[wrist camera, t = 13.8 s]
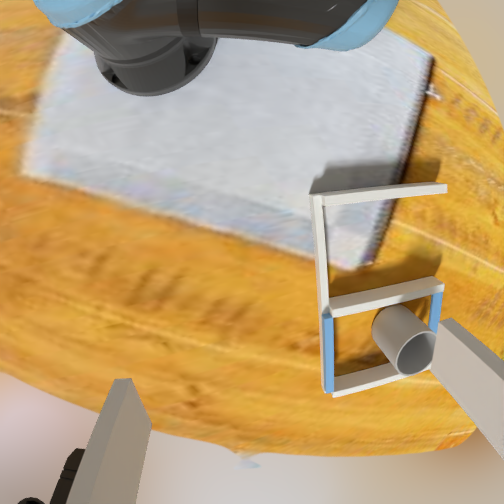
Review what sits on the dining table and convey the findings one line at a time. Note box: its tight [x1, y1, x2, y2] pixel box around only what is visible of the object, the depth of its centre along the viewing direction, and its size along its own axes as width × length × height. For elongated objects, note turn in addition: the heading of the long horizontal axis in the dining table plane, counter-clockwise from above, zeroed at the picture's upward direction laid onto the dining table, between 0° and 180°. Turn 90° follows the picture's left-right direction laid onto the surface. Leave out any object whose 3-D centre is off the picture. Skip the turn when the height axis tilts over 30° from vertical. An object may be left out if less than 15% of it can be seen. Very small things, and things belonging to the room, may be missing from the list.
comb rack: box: [309, 182, 447, 398], centre depth 42 cm, size 30×21×4 cm
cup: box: [372, 305, 437, 376], centre depth 41 cm, size 7×10×9 cm
